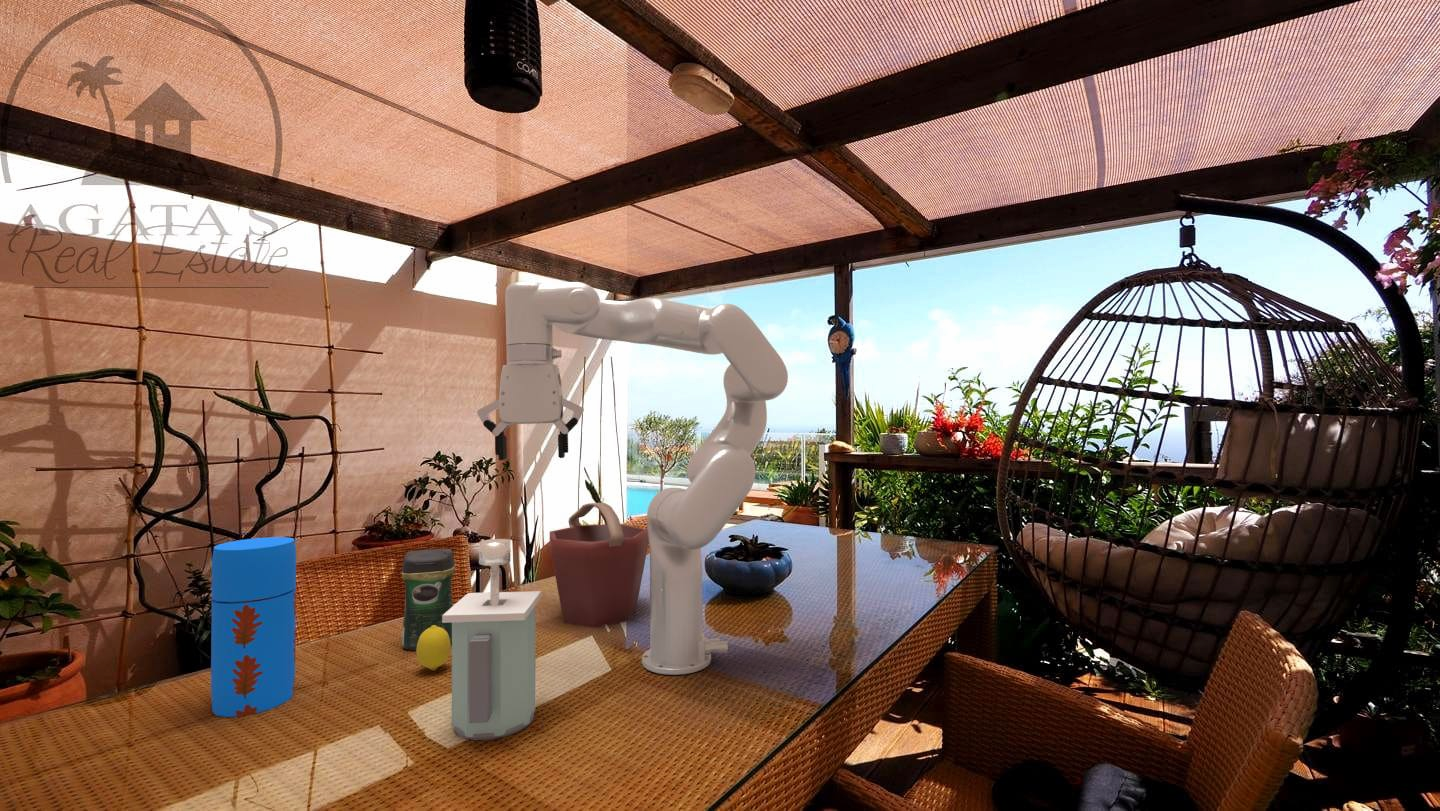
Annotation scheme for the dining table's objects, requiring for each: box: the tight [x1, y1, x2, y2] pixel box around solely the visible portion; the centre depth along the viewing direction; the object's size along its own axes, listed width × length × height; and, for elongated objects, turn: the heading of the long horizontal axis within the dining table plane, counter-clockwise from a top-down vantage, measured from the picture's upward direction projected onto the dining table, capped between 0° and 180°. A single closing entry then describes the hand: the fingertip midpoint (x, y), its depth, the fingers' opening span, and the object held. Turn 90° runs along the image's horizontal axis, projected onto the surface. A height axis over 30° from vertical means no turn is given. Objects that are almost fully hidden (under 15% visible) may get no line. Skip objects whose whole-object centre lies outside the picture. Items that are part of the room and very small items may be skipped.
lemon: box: [415, 625, 452, 672], centre depth 112 cm, size 6×6×8 cm
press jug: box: [442, 590, 542, 741], centre depth 93 cm, size 14×11×17 cm
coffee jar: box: [401, 548, 456, 650], centre depth 126 cm, size 10×8×19 cm
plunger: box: [478, 538, 511, 606], centre depth 94 cm, size 8×8×24 cm
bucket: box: [549, 502, 649, 628], centre depth 144 cm, size 24×22×25 cm
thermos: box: [210, 536, 297, 718], centre depth 101 cm, size 11×11×25 cm
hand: (532, 458), depth 107 cm, fingers open, 9 cm apart
